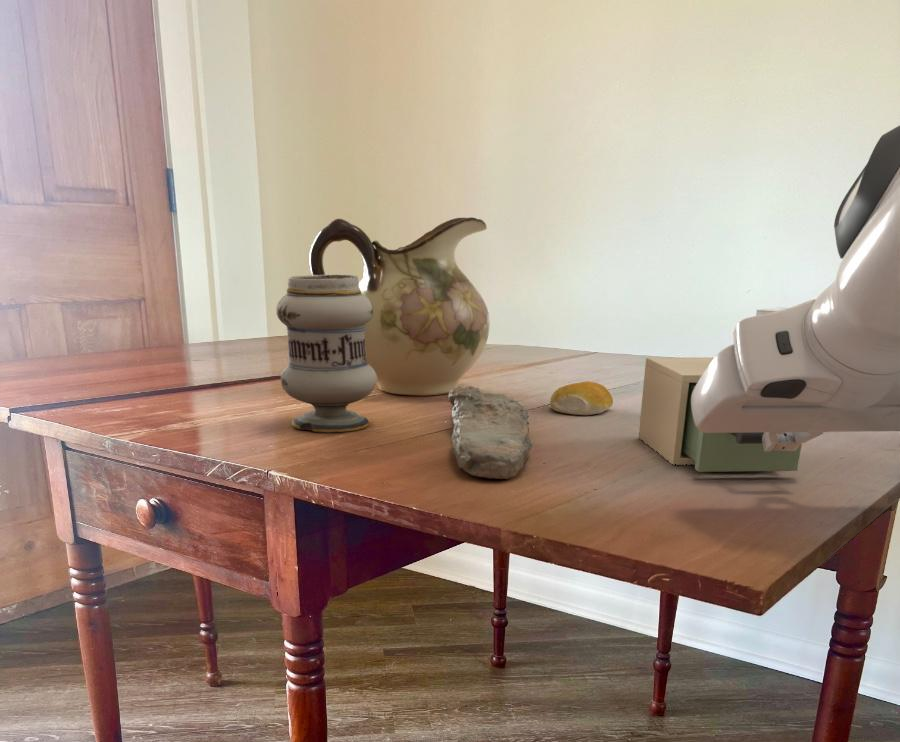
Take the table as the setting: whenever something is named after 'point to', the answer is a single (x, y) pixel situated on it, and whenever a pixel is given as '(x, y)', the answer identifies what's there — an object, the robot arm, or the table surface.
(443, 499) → the table surface
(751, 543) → the table surface
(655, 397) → the cabinet
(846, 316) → the robot arm
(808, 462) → the table surface
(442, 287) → the pitcher
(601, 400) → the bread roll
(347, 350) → the apothecary jar
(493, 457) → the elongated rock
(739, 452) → the drawer
